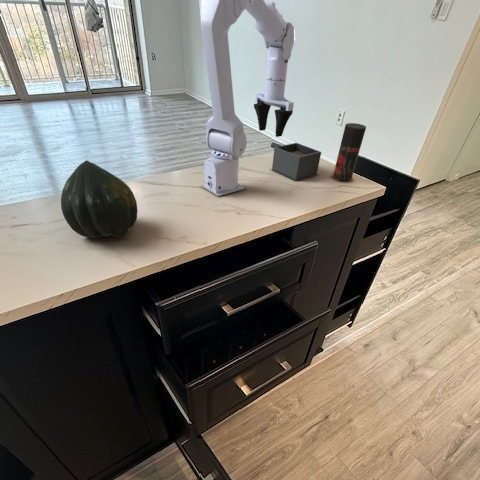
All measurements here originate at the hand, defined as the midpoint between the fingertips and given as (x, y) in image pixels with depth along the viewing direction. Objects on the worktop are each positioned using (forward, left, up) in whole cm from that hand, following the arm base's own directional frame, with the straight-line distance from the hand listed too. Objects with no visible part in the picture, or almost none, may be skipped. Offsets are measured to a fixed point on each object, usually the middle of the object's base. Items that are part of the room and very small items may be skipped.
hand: (270, 133), depth 100 cm
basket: (+5, -5, -10) cm, 13 cm away
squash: (-60, -11, -11) cm, 62 cm away
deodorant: (+15, -20, -11) cm, 27 cm away
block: (+5, -8, -10) cm, 14 cm away
